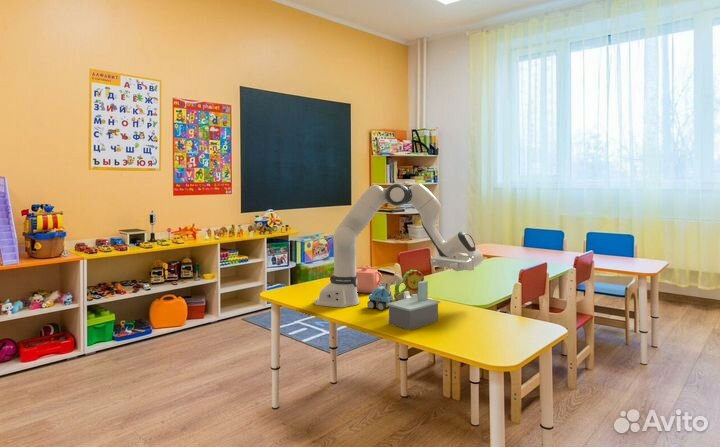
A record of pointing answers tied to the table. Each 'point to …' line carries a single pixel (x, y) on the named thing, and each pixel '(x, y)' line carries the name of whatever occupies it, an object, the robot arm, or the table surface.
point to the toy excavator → (383, 294)
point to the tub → (413, 317)
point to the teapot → (367, 279)
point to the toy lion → (409, 284)
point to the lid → (415, 299)
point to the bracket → (407, 295)
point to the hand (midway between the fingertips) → (440, 265)
